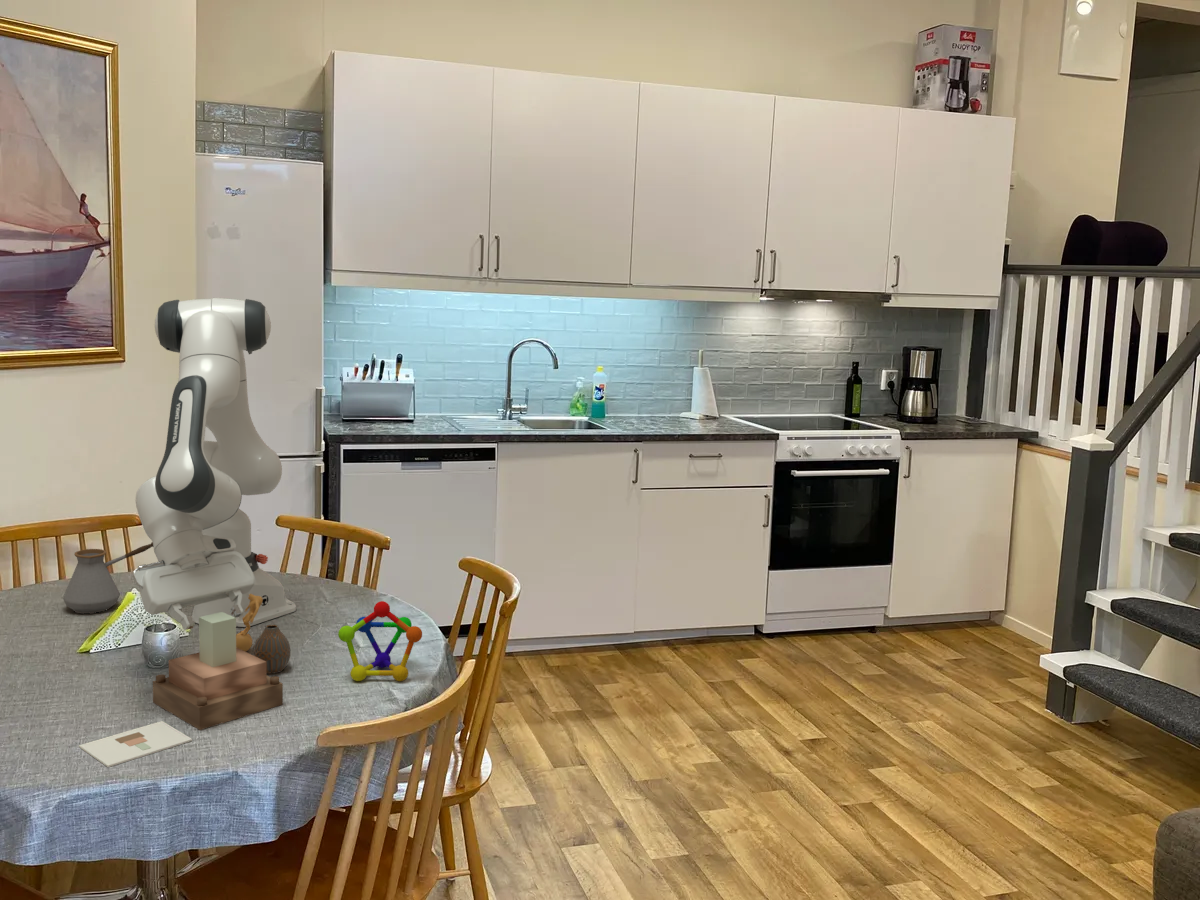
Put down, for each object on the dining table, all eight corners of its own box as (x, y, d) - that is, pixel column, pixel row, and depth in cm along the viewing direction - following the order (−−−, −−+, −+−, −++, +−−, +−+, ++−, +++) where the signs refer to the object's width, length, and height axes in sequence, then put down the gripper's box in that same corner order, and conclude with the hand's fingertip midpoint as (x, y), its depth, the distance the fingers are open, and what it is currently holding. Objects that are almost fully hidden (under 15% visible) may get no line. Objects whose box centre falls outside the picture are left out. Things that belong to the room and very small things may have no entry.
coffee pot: (62, 618, 237) (59, 551, 234) (64, 602, 247) (62, 538, 244) (168, 610, 245) (166, 545, 242) (166, 595, 255) (165, 533, 253)
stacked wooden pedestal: (234, 679, 207) (234, 639, 206) (282, 704, 197) (282, 662, 195) (153, 702, 195) (152, 659, 194) (199, 730, 185) (199, 684, 183)
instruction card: (162, 722, 187) (162, 720, 187) (192, 740, 180) (192, 738, 180) (79, 747, 176) (78, 744, 176) (107, 767, 170) (107, 764, 170)
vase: (297, 666, 215) (297, 623, 214) (276, 678, 209) (276, 634, 207) (267, 661, 217) (267, 618, 216) (245, 672, 211) (245, 629, 209)
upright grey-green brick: (222, 654, 198) (222, 611, 196) (236, 661, 195) (235, 617, 193) (199, 660, 194) (198, 617, 193) (212, 667, 191) (212, 623, 190)
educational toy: (409, 663, 222) (417, 592, 220) (417, 688, 210) (426, 612, 208) (330, 661, 217) (338, 588, 215) (335, 686, 205) (343, 609, 203)
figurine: (229, 645, 225) (229, 589, 223) (260, 643, 227) (259, 587, 225) (234, 659, 217) (233, 601, 215) (265, 656, 220) (265, 598, 218)
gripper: (134, 558, 189) (164, 626, 185) (241, 538, 205) (271, 600, 200) (123, 577, 193) (152, 644, 189) (229, 556, 208) (258, 617, 204)
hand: (214, 621), depth 194 cm, fingers open, 8 cm apart
